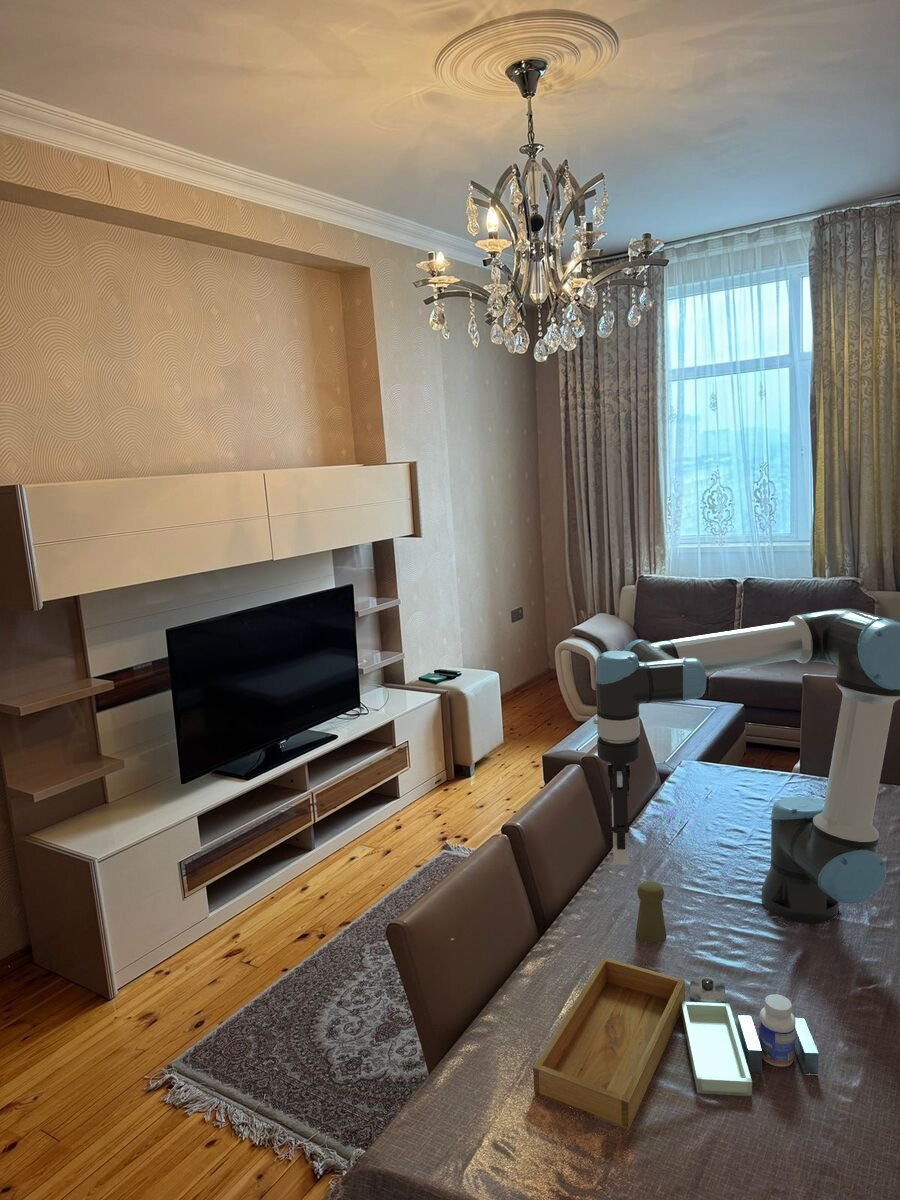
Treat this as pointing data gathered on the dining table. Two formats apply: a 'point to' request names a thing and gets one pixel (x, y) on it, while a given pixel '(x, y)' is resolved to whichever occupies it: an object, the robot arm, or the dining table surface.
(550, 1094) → the tray
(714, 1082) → the tray
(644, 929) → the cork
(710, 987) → the silver pot lid
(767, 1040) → the pill bottle
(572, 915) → the dining table surface
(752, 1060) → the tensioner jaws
